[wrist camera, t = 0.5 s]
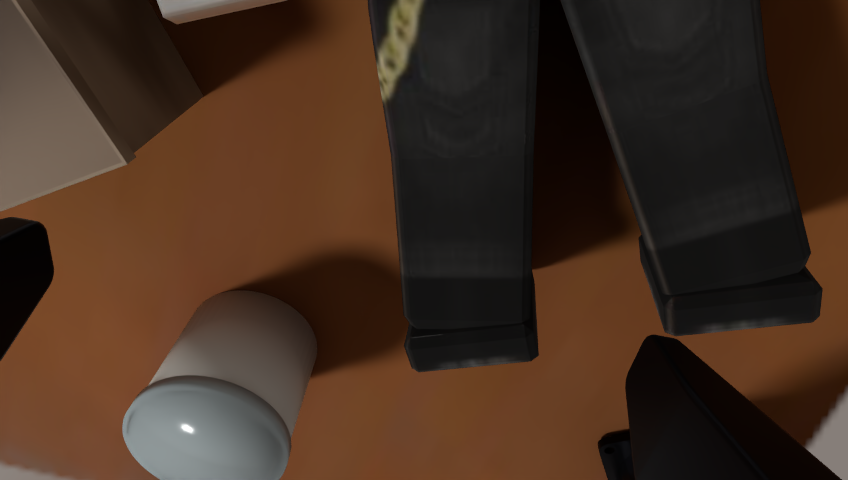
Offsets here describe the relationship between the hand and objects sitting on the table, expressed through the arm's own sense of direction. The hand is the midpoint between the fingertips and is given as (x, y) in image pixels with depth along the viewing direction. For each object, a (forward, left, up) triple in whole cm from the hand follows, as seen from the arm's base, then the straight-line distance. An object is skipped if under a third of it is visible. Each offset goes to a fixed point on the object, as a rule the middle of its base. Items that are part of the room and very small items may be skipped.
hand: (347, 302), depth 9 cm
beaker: (-10, +12, -13) cm, 20 cm away
